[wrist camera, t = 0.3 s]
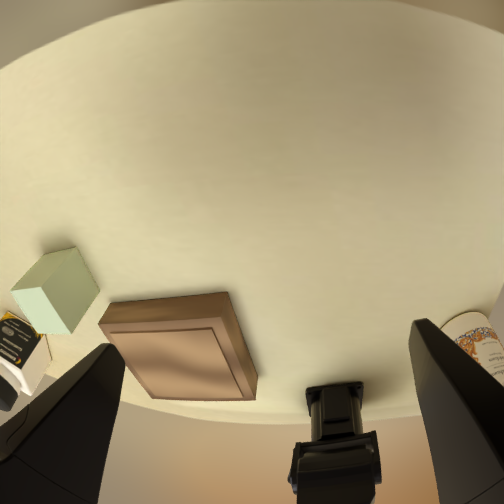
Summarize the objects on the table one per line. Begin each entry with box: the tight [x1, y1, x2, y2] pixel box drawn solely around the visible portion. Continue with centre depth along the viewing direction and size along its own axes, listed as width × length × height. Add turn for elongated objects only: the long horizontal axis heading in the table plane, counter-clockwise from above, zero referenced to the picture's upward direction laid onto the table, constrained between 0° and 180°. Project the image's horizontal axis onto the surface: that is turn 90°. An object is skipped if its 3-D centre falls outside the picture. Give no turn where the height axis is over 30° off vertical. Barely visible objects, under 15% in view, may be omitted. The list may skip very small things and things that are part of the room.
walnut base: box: [98, 292, 258, 401], centre depth 28 cm, size 12×12×3 cm
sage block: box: [10, 247, 100, 334], centre depth 24 cm, size 5×5×6 cm
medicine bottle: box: [0, 312, 52, 411], centre depth 29 cm, size 7×7×12 cm
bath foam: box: [441, 312, 504, 386], centre depth 18 cm, size 7×7×20 cm
